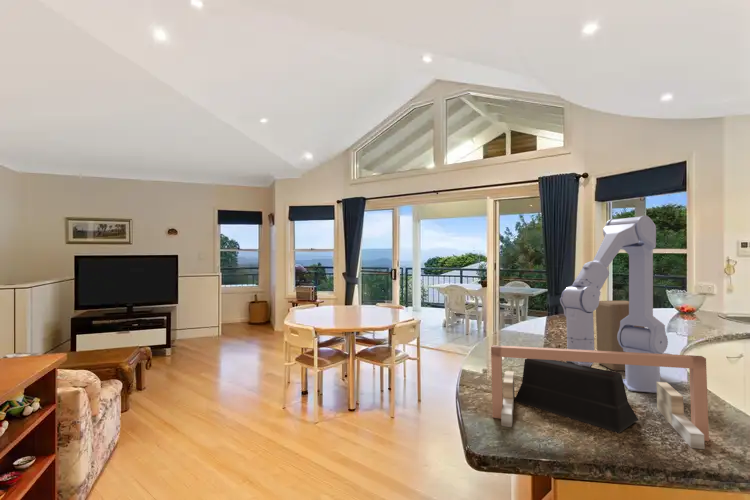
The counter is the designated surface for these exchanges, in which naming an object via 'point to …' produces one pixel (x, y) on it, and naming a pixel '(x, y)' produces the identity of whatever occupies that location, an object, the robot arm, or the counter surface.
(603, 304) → the wooden block
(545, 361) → the barrier
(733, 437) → the counter surface
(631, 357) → the arch
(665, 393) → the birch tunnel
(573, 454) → the counter surface
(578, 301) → the robot arm
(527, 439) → the counter surface
